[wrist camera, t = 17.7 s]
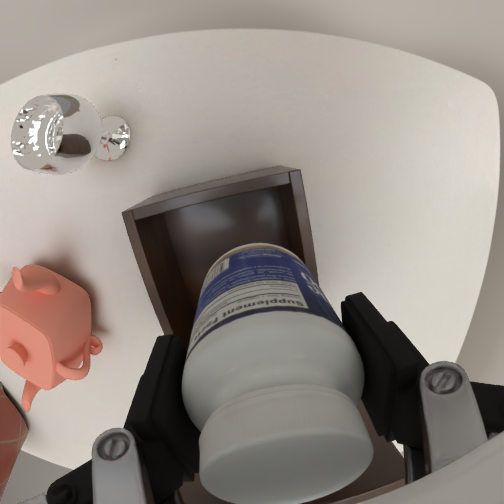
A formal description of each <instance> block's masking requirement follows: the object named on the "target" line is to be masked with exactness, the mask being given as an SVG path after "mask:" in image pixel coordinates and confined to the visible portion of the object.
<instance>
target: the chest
mask: <svg viewBox="0 0 504 504" xmlns="http://www.w3.org/2000/svg"><path fill="white" fill-rule="evenodd" d="M122 216H123V219H124V223H125V226H126V229H127V233H128V236H129V239H130V242H131V245H132V248H133V252H134V255H135V258H136V261H137V264H138V266H139V269H140V272H141V275H142V278H143V281H144V284H145V286H146V289H147V292H148V294H149V297H150V300H151V302H152V305H153V307H154V310H155V313H156V315H157V318H158V320H159V323H160V325H161V327H162V330H163V332H164V335H169V334H174V335H175V336H176V337H180V338H181V339H182V342H183V344H184V346H185V349H186V351H187V352H188V348H189V343H190V338H191V333H192V328H193V324H194V319H195V315H196V311H197V307H198V302H199V298H200V293H201V290H202V287H203V283H204V280H205V278H206V276H207V273H208V272H209V270H210V268H211V267H212V266H213V264H214V263H215V262H216V261H217V260H218V259H219V258H220V257H221V256H223V255H224V254H225V253H227V252H228V251H230V250H232V249H234V248H236V247H239V246H242V245H246V244H252V243H268V244H273V245H277V246H280V247H283V248H285V249H287V250H289V251H290V252H292V253H293V254H295V255H296V256H297V257H298V258H299V259H300V260H301V261H302V262H303V263H304V265H305V266H306V267H307V268H308V270H309V271H310V273H311V274H312V276H313V278H314V279H315V281H316V282H317V284H318V285H319V281H318V274H317V267H316V260H315V253H314V246H313V239H312V233H311V227H310V220H309V214H308V209H307V203H306V197H305V191H304V186H303V181H302V175H301V170H300V169H295V168H289V167H284V166H276V167H271V168H266V169H261V170H257V171H252V172H247V173H243V174H238V175H234V176H229V177H225V178H221V179H216V180H212V181H208V182H204V183H200V184H196V185H192V186H188V187H184V188H180V189H177V190H173V191H169V192H166V193H162V194H158V195H155V196H152V197H150V198H148V199H146V200H144V201H142V202H141V203H139V204H137V205H135V206H133V207H131V208H129V209H127V210H125V211H123V212H122Z"/></svg>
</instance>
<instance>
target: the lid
mask: <svg viewBox="0 0 504 504" xmlns="http://www.w3.org/2000/svg"><path fill="white" fill-rule="evenodd" d="M357 409H358V410H359V412H360V414H361V416H362V419H363V421H364V424H365V426H366V428H367V431H368V433H369V436H370V439H371V441H372V444H373V450H374V454H373V458H372V461H371V463H370V465H369V466H368V467H367V469H366V470H365V471H364V472H363V473H362V474H361V475H360V476H359V477H358V478H357V479H356V480H354V481H353V482H351V483H350V484H348V485H347V486H345V487H343V488H342V489H340V490H338V491H335V492H333V493H331V494H329V495H326V496H324V497H321V498H318V499H315V500H312V501H308V502H304V503H301V504H357V503H360V502H363V501H366V500H369V499H372V498H375V497H377V496H380V495H383V494H385V493H388V492H391V491H393V490H396V489H398V488H401V487H403V486H405V468H404V458H403V456H402V455H401V454H400V452H399V451H398V450H397V448H396V447H395V445H394V444H393V443H392V441H391V442H388V443H387V441H386V439H385V437H384V435H383V436H381V437H379V436H378V434H377V432H376V430H375V428H374V426H373V424H372V422H371V419H370V417H369V415H368V413H367V411H366V409H365V406H364V404H363V402H362V400H361V399H360V401H359V403H358V405H357ZM179 489H180V492H181V495H182V499H183V502H184V504H235V503H231V502H228V501H225V500H222V499H220V498H218V497H216V496H214V495H213V494H211V493H210V492H208V491H207V490H206V489H205V488H204V486H203V485H202V483H201V480H200V475H199V473H195V479H194V482H183V486H181V487H180V488H179Z"/></svg>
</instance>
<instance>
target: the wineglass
mask: <svg viewBox="0 0 504 504" xmlns="http://www.w3.org/2000/svg"><path fill="white" fill-rule="evenodd" d="M130 138H131V134H130V128H129V126H128V124H127V123H126V121H125V120H124V119H122V118H120V117H117V116H108V117H105V118H103V119H101V116H100V113H99V112H98V110H97V108H96V107H95V106H94V105H93V104H92V103H91V102H90V101H88V100H87V99H85V98H84V97H82V96H78V95H75V94H70V93H54V94H47V95H41V96H37V97H35V98H33V99H31V100H30V101H29V102H27V103H26V104H25V105H24V106H23V108H22V109H21V110H20V112H19V113H18V115H17V117H16V119H15V122H14V125H13V129H12V134H11V146H12V152H13V155H14V158H15V159H16V161H17V162H18V164H19V165H21V166H22V167H23V168H25V169H27V170H31V171H34V172H38V173H41V174H49V175H62V174H68V173H71V172H73V171H76V170H78V169H80V168H81V167H83V166H84V165H86V164H87V163H88V162H89V161H90V160H91V159H92V158H93V156H94V155H95V156H96V157H97V158H99V159H101V160H104V161H112V160H115V159H117V158H119V157H120V156H122V155H123V154H124V152H125V151H126V150H127V148H128V146H129V143H130Z"/></svg>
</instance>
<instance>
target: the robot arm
mask: <svg viewBox="0 0 504 504" xmlns="http://www.w3.org/2000/svg"><path fill="white" fill-rule="evenodd" d="M341 313H342V324H343V326H344V327H345V329H346V330H347V332H348V334H349V335H350V337H351V338H352V340H353V342H354V343H355V346H356V348H357V350H358V352H359V354H360V356H361V359H362V362H363V366H364V373H365V381H364V388H363V393H362V396H361V400H362V402H363V404H364V406H365V409H366V411H367V413H368V415H369V417H370V419H371V422H372V424H373V426H374V428H375V430H376V432H377V434H378V436H379V437H381V436H383V435H384V437H385V439H386V441H387V443H388V442H391V441H394V440H396V441H397V443H399V444H403V447H404V468H405V486H403V487H401V488H398V489H396V490H393V491H391V492H388V493H385V494H383V495H380V496H377V497H375V498H372V499H369V500H366V501H363V502H360V503H357V504H504V386H500V385H491V384H484V383H477V382H470V381H469V378H468V376H467V374H466V372H465V370H464V369H463V368H462V367H461V366H459V365H458V364H455V363H453V362H448V361H441V362H436V363H432V364H431V365H429V363H428V362H427V361H426V360H425V358H424V357H423V356H422V355H421V353H420V352H419V351H418V350H417V349H416V347H415V346H414V345H413V344H412V343H411V341H410V340H409V339H408V338H407V337H406V335H405V334H404V333H403V332H402V331H401V330H400V328H399V327H398V326H397V325H396V324H395V323H394V322H393V321H389V322H387V321H386V320H385V319H384V318H383V316H382V315H381V314H380V313H379V312H378V310H377V309H376V308H375V307H374V306H373V304H372V303H371V302H370V301H369V300H368V299H367V297H366V296H365V295H364V294H363V293H362V292H359V293H356V294H352V295H348V296H346V298H345V301H342V302H341ZM186 356H187V351H186V349H185V346H184V344H183V342H182V339H181V338H180V337H176V336H175V335H174V334H169V335H163V336H158V337H157V339H156V342H155V345H154V347H153V350H152V353H151V355H150V358H149V361H148V364H147V366H146V369H145V372H144V374H143V375H142V376H141V378H140V381H139V384H138V386H137V389H136V392H135V395H134V398H133V401H132V404H131V407H130V410H129V413H128V416H127V419H126V422H125V425H124V428H112V429H109V430H107V431H105V432H103V433H102V434H100V435H99V436H98V437H97V439H96V440H95V442H94V444H93V448H92V459H91V460H89V461H88V462H86V463H85V464H83V465H81V466H80V467H78V468H76V469H75V470H73V471H71V472H70V473H68V474H66V475H64V476H63V477H61V478H59V479H57V480H56V481H55V482H54V483H52V484H51V485H50V487H49V489H48V491H47V495H46V494H45V493H41V494H39V495H37V496H35V497H32V498H30V499H27V500H25V501H23V502H20V503H18V504H184V502H183V499H182V495H181V492H180V489H179V488H180V487H181V486H183V482H194V479H195V473H199V469H200V448H199V438H200V434H201V431H200V430H199V429H198V428H197V427H196V426H195V425H194V423H193V422H192V421H191V419H190V417H189V415H188V413H187V411H186V409H185V406H184V403H183V398H182V376H183V371H184V366H185V361H186Z"/></svg>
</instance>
